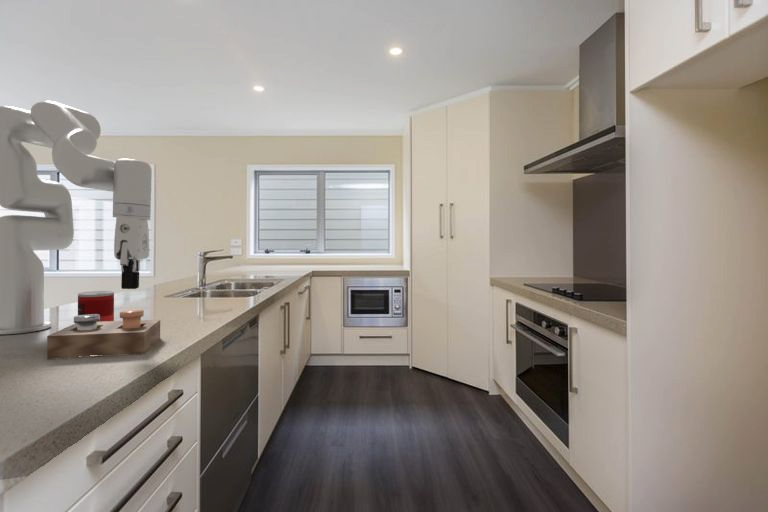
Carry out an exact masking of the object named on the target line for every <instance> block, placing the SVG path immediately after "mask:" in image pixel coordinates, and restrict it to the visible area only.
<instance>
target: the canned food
mask: <svg viewBox="0 0 768 512" xmlns="http://www.w3.org/2000/svg"><path fill="white" fill-rule="evenodd" d="M87 314H98V315H100V321H97V322H103V321H115V316H114V315H115V292H114V291H112V290H93V291H84V292H79V293H78V294H77V316H79V315H87Z"/></svg>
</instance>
